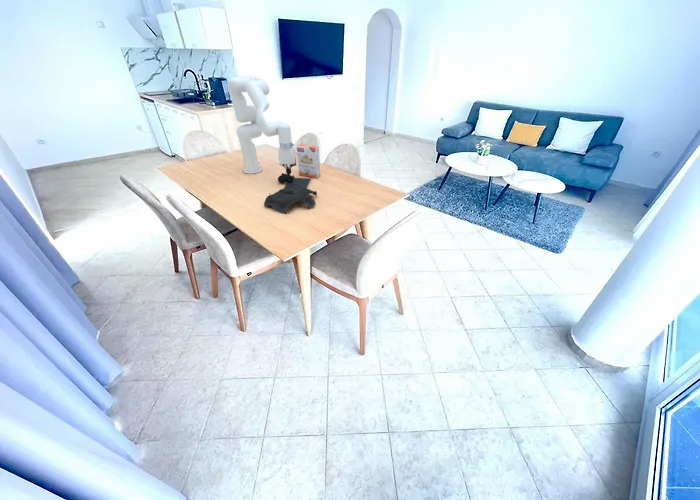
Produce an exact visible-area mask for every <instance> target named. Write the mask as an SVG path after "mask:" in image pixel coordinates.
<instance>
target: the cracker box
mask: <svg viewBox="0 0 700 500" xmlns="http://www.w3.org/2000/svg"><path fill="white" fill-rule="evenodd" d="M296 153H297V164H298V165H297V166H298V175H299V176H303V177H306V178H311V179H312V178H313V179H317V178H319V177H320V176H321V165H320V163H321V162H320V161H321V160H320V146H319V145H312V144H305V143H299V144H298V145H296Z"/></svg>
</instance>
